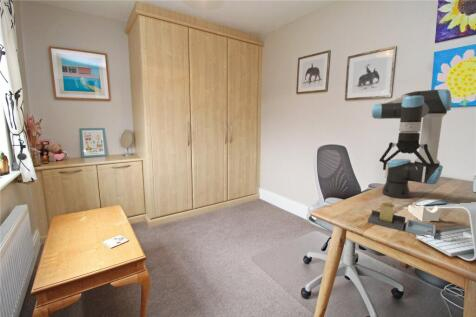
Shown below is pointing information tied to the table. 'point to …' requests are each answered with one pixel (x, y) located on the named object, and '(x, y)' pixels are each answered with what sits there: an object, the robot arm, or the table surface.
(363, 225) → the table surface
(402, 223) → the dark grey shallow tray
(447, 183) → the table surface
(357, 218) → the table surface
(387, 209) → the mustard yellow block
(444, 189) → the table surface
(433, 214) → the bracket
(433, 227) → the tray
